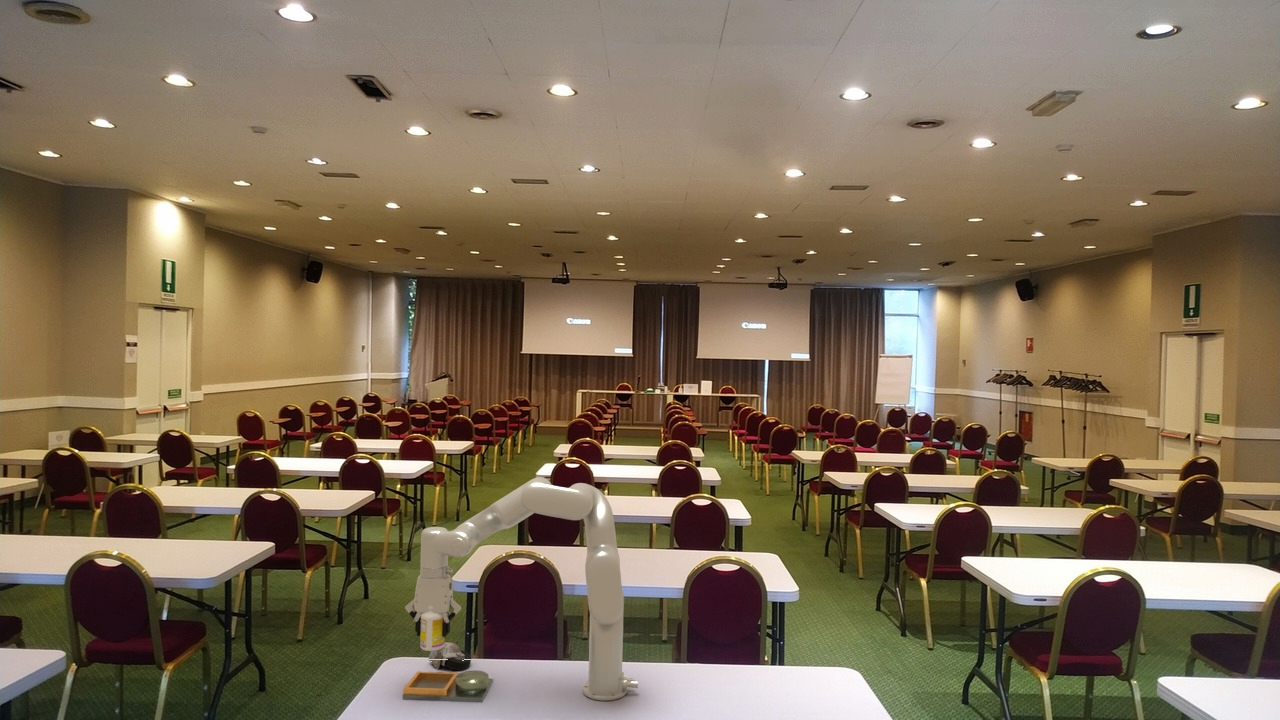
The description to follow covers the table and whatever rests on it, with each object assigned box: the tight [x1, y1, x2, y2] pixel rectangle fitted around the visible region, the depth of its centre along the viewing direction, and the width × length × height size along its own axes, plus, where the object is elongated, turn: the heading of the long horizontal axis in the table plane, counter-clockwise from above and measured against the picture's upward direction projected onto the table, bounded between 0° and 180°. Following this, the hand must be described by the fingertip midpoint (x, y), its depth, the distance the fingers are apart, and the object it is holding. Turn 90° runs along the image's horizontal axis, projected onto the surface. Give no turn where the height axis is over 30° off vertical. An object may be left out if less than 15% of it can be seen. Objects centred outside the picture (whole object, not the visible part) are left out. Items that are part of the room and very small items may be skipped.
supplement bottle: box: [419, 605, 446, 652], centre depth 218 cm, size 7×7×13 cm
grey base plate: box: [402, 669, 494, 703], centre depth 218 cm, size 22×13×4 cm, turn 88°
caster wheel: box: [428, 642, 472, 671], centre depth 236 cm, size 7×11×10 cm
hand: (432, 634), depth 218 cm, fingers closed on supplement bottle, 6 cm apart
